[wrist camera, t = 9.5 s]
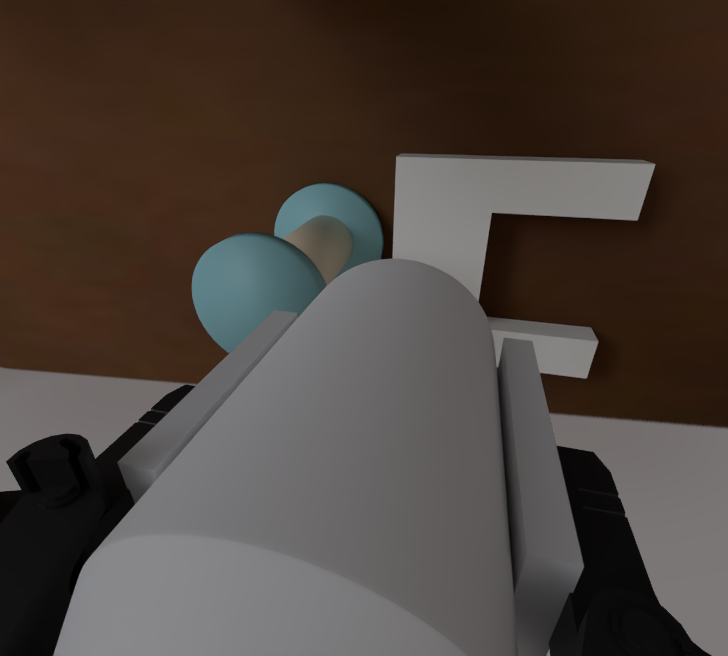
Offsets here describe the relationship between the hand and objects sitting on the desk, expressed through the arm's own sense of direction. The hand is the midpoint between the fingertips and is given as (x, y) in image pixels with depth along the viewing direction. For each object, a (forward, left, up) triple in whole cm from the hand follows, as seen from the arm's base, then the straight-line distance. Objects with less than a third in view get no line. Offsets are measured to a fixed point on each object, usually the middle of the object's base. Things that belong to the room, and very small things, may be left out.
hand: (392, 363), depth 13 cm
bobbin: (+2, -8, -18) cm, 20 cm away
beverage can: (0, 0, -2) cm, 2 cm away
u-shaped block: (+3, +4, -18) cm, 19 cm away
